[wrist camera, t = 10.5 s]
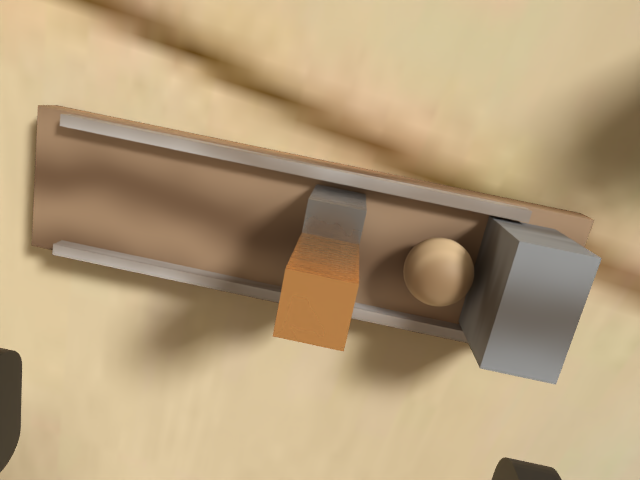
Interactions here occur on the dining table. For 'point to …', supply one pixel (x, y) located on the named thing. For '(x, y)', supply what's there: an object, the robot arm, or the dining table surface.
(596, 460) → the dining table surface
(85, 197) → the base
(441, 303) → the smooth beige ball
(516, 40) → the dining table surface
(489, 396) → the dining table surface
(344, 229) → the sliding jaw
